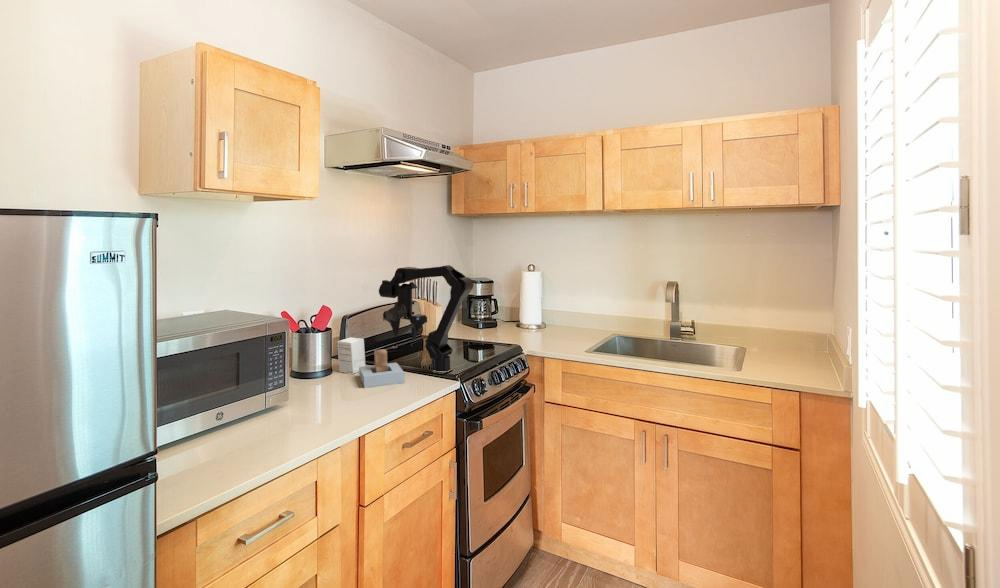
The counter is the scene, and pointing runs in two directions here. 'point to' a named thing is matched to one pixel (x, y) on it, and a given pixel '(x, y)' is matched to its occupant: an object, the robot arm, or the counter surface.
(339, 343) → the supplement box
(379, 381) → the well block
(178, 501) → the counter surface
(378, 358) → the walnut post
